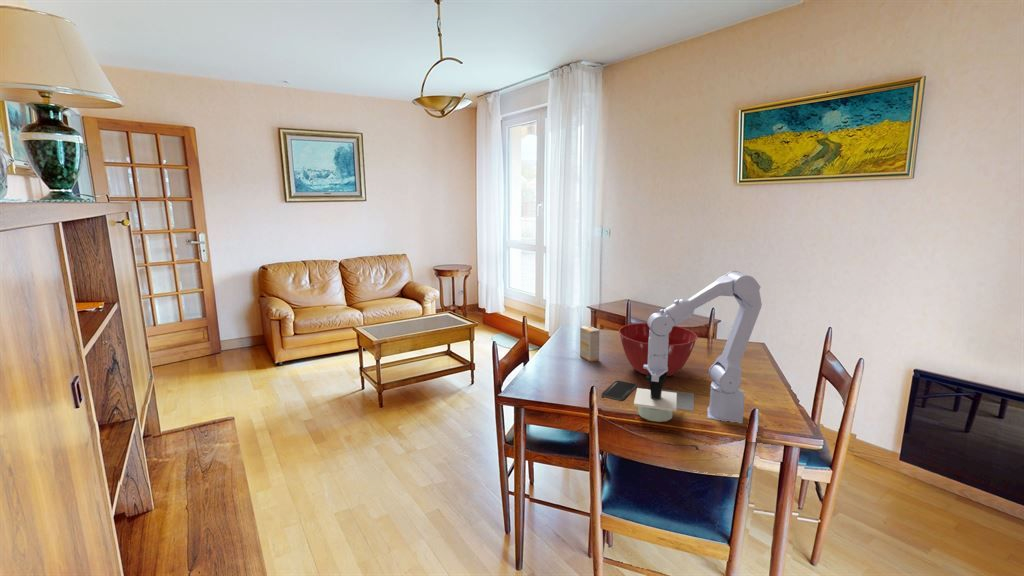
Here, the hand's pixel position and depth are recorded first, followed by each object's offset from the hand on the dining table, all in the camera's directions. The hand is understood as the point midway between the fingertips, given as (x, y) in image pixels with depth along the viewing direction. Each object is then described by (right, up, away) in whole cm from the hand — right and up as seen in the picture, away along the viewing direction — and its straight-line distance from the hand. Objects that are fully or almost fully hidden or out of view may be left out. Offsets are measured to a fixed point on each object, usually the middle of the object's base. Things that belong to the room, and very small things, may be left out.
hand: (656, 395), depth 143 cm
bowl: (0, -6, +1) cm, 6 cm away
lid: (0, -2, 0) cm, 2 cm away
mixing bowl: (+11, +1, +37) cm, 39 cm away
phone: (-7, -4, +19) cm, 20 cm away
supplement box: (-12, +3, +52) cm, 54 cm away
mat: (+9, -4, +12) cm, 15 cm away
